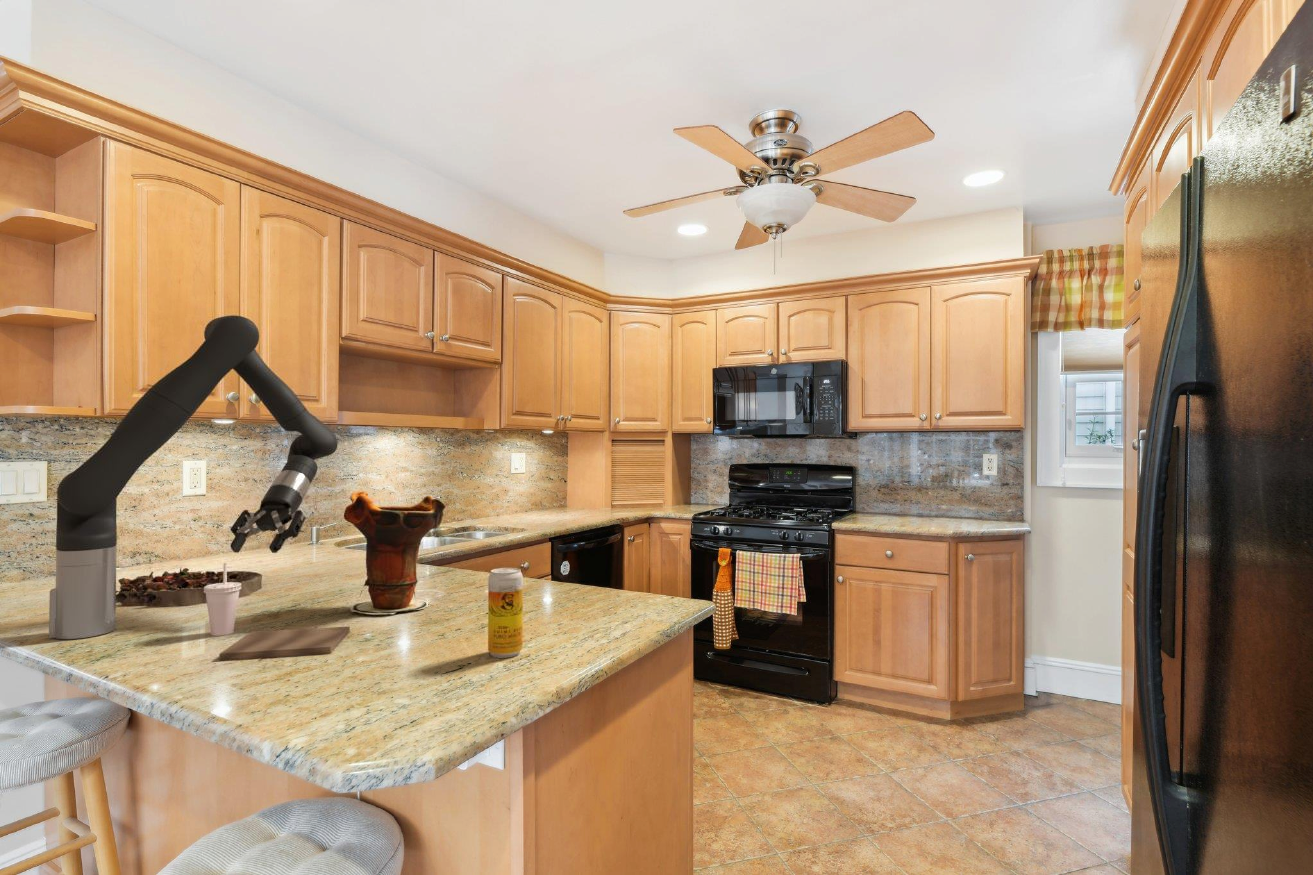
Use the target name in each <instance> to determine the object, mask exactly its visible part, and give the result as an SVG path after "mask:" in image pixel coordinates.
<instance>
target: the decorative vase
mask: <svg viewBox="0 0 1313 875" xmlns="http://www.w3.org/2000/svg"><path fill="white" fill-rule="evenodd" d="M349 499H350V501H351V503H350V504H348V505H347V506H346V507H345V508H344V509H345V510H344V512H343V519H344V520H345V521H347V522H348V523H350V524H352V525H353V526H354V528H356V529H357V530H358V531H359V532H360V533H361V534H362V535H363V536H364V538H365V539H366V546H365V549H366V551H365V568H366V580H365V581H364V585H363V587H368V589H367V592H368V595H369V598H370V600H365V601H361V602H356V603H355V604H353V605H351V606H350V608H349V611H350V612H353V613H354V612H356V613H358V614H366V615H395V614H396V613H398V612H410V611H417V610H423V609H426V608H427V607H429V605H428V604H429V602H428V601H427V600H422V599H420V598H419V599H418V598H416V597H414V596H416V591H415V590H416V587H417V584H418V578H417V564H418V563H417V562H418V558H419V557H418V556H419V551H420V547H421V544H422V539H423V538H424V537H425V536H427V534H429V533H430V532H431V531H432V530H434V529H436V528H438V527H440V525H441V523H442V520H443V518H444V510H445V509H446V505H445V503H444V502H443V501H441V500H440V499H438V498H434V497H433V496H432V495H426V496H424V497H423V499H422V500H421V501H419V502H418V503H416V504H414V505H375V503H374V502H373V500H372V499H371V498H370V497H369V496H368V492H366V491H364V490H360V491H356V492H353V493H351V494H350V497H349ZM362 593H363V590H361V592H360V593H359V598H361V596H362ZM413 597H414V598H413Z"/></svg>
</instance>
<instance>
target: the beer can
mask: <svg viewBox="0 0 1313 875" xmlns="http://www.w3.org/2000/svg"><path fill="white" fill-rule="evenodd" d="M487 578H488V580H487V582H488V585H487V586H488V590H487V591H488V594H487V595H488V596H487V597H488V598H487V599H488V600H487V601H488V602H487V606H488V607H487V608H488V609H487V610H488V612H487V615H488V616H487V621H488V623H487V627H488V628H487V633H488V634H487V648H488V649H487V652H489V654H490V655H491V657H494V658H499V659H504V658H505V659H506V658H507V659H508V658H512V657H516V656H518V655H519V654H520V653H521V651H522V650H523V648H524V647H523V646H524V645H523V641H524V640H523V638H524V637H523V636H524V635H523V633H524V632H523V630H524V629H523V627H524V626H523V621H524V620H523V619H524V618H523V616H524V615H523V613H524V611H523V610H524V609H523V608H524V606H523V604H524V600H523V599H524V596H523V595H524V592H523V591H524V590H523V589H524V585H523V581H524V580H523V578H524V577H523V573H522V572H521V568H518V567H500V568H493V569H491V570H490V573H489V575H488V577H487Z"/></svg>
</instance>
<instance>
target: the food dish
mask: <svg viewBox="0 0 1313 875" xmlns="http://www.w3.org/2000/svg"><path fill="white" fill-rule="evenodd" d="M223 571H224V570H223ZM223 571H216V572H215V571H213V570H212V571H210V570H209V571H208V570H207V571H205V572H203V570H202V571H201V570H200V571H199V570H198V571H190V569H189V568H188V567H185V568H183V569H182V567H180V568H179V571H178V572H176V571H174V572H172V573H169V572H168V571H167V570H166V571H164V572H163V573H162V575H158V576H157V575H155V576H154V571H150V574H149V575H140V576H136V578H133V579H129V578H124V577H122V578H119V579H118V583H119V584H120V585H119V586H120V587H119V591H118V590H116V604H119V603H122V606H123V607H127V608H128V607H129V608H130V607H131V608H133V607H160V608H161V607H162V608H176V607H177V608H179V607H182V608H183V607H191V606H197V605H203V604H204V605H205V604H206V605H207V600H206V593H204V587H205V586H207V585H211V584H217V583H223ZM262 580H263V574H261V573H259V572H256V571H254V572H253V571H247V570H246V571H245V570H231V571H229V570H228V571H227V582H238V583H241V589H240V590H239V598H238V599H240V598H244V597H248V596H251V595H252V594H254V593H256V592H258V591H259V590H261V589H262V588H263V587H262V586H263V585H262Z"/></svg>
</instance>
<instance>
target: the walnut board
mask: <svg viewBox="0 0 1313 875" xmlns="http://www.w3.org/2000/svg"><path fill="white" fill-rule="evenodd" d="M350 628H351V627H350V626H334V627H333V626H332V627H317V628H302V629H300V628H299V629H282V630H280V629H279V630H263V631H262V630H261V631H250V632H248V633H247V634H245V636H243V637H242V638H240V639H239V640H237V641H236V642H234V643H233V644H231V645H230V646H228V647H226V648H225V649H224V650H223V651H221V652H220V653H219V654H218V655H219V661H232V660H233V661H234V660H247V659H248V660H249V659H264V658H265V659H266V658H277V657H280V658H281V657H293V656H296V657H297V656H309V655H310V656H311V655H325V654H326V655H327V654H332V653H333V651H335V649H336V648H337V647H338V646H339V645H340V644H341V643H342V642H343V640H344V639H345V638H346V637H347V636H348V635H349V634H350V633H351V629H350Z"/></svg>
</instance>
